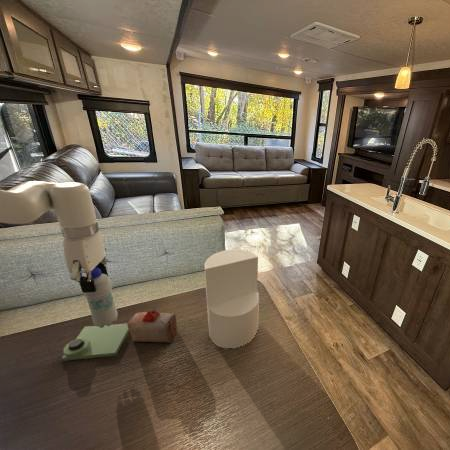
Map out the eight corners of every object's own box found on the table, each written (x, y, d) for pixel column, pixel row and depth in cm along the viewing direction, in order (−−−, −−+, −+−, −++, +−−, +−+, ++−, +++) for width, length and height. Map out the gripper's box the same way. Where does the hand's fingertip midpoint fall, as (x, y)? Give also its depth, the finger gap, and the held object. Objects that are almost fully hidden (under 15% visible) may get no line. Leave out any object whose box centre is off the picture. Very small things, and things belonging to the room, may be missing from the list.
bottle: (115, 311, 83) (102, 260, 75) (122, 322, 79) (110, 269, 72) (90, 322, 78) (74, 269, 70) (97, 334, 74) (80, 279, 67)
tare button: (67, 351, 73) (66, 347, 72) (74, 342, 75) (72, 339, 75) (79, 350, 73) (78, 346, 73) (85, 341, 76) (84, 338, 76)
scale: (61, 362, 72) (58, 355, 71) (85, 329, 83) (83, 322, 82) (115, 356, 75) (113, 349, 74) (132, 325, 86) (130, 319, 85)
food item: (127, 344, 79) (121, 321, 76) (141, 325, 87) (136, 303, 83) (170, 346, 80) (167, 323, 77) (180, 327, 88) (177, 305, 84)
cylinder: (203, 321, 91) (198, 255, 80) (247, 306, 101) (248, 245, 90) (217, 357, 78) (213, 285, 67) (266, 336, 88) (269, 269, 77)
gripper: (83, 217, 73) (96, 268, 80) (40, 244, 57) (62, 305, 64) (112, 217, 75) (123, 267, 82) (78, 244, 59) (95, 303, 66)
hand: (96, 283), depth 73 cm, fingers closed on bottle, 6 cm apart
